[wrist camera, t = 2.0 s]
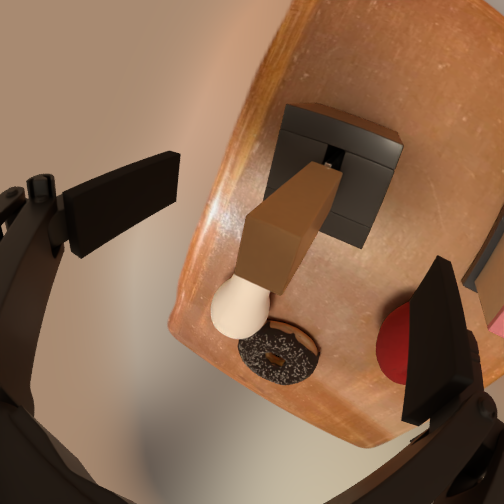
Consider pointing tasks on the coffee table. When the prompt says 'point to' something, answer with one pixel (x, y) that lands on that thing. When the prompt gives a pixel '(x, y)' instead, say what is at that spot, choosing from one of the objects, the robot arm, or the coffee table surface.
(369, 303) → the coffee table surface
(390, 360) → the apple
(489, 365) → the coffee table surface
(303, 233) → the knife
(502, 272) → the cake
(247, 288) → the cream ceramic vase
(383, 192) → the knife block
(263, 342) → the donut
